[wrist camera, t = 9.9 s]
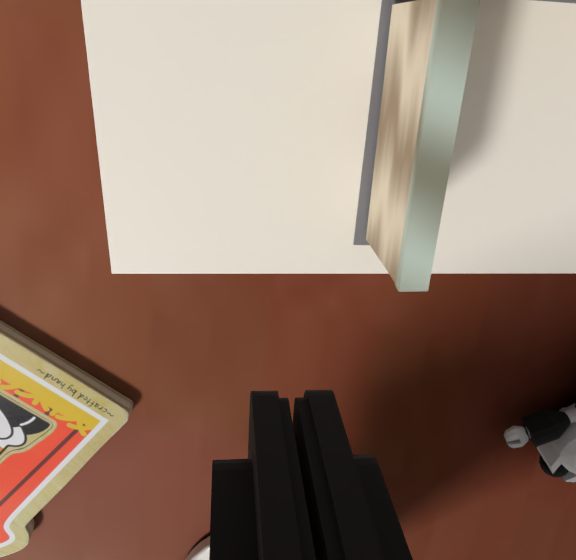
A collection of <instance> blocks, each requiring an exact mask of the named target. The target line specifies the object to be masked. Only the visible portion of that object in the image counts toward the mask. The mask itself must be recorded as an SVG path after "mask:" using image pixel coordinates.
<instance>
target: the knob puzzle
mask: <svg viewBox="0 0 576 560" xmlns="http://www.w3.org/2000/svg"><path fill="white" fill-rule="evenodd" d="M132 407H133V401H132V400H131V399H129V398H127V397H126V396H124V395H122V394H121V393H119V392H118V391H116V390H114V389H113V388H111V387H109V386H108V385H106V384H105V383H103V382H101V381H100V380H98V379H96V378H95V377H93V376H91V375H90V374H88V373H87V372H85V371H83V370H82V369H80V368H78V367H77V366H75V365H73V364H72V363H70V362H68V361H67V360H65V359H63V358H62V357H60V356H58V355H57V354H55V353H54V352H52V351H50V350H49V349H47V348H45V347H44V346H42V345H40V344H39V343H37V342H35V341H34V340H32V339H30V338H29V337H27V336H26V335H24V334H22V333H21V332H19V331H17V330H16V329H14V328H12V327H11V326H9V325H8V324H6V323H4V322H3V321H1V320H0V557H2V556H5V555H9V554H12V553H14V552H17V551H19V550H21V549H23V548H24V547H26V545H27V544H28V542H29V540H30V537H31V535H32V532H33V530H34V525H35V522H34V519H33V517H34V516H35V515H36V514H37V513H38V512H39V511H40V510H41V509H42V508H43V507H44V506H45V505H46V504H47V503H48V502H49V501H50V500H51V499H52V498H53V497H54V496H55V495H56V494H57V493H58V492H59V491H60V490H61V489H62V488H63V487H64V486H65V485H66V484H67V483H68V482H69V481H70V480H71V478H72V477H73V476H74V475H75V474H76V473H77V472H78V471H79V470H80V469H81V468H82V467H83V466H84V465H85V464H86V462H87V461H88V460H89V459H90V458H91V457H92V456H93V455H94V454H95V453H96V452H97V451H98V450H99V449H100V448H101V447H102V446H103V445H104V444H105V443H106V442H107V441H108V440H109V439H110V438H111V437H112V436H113V435H114V434H115V433H116V432H117V431H118V430H119V429H120V428H121V427H122V426H123V425H124V424H125V423H126V422H127V421H128V418H129V415H130V412H131V410H132Z"/></svg>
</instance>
